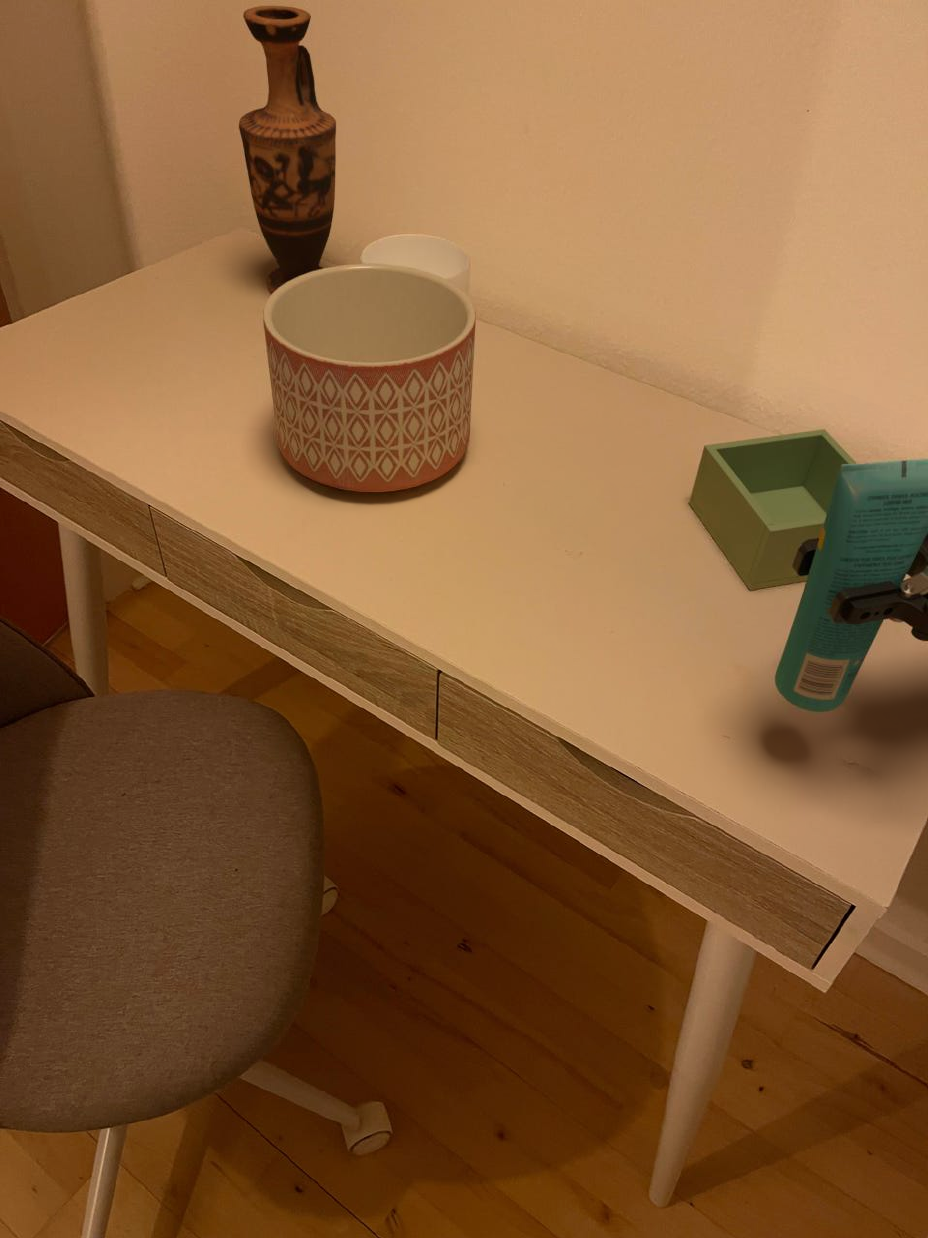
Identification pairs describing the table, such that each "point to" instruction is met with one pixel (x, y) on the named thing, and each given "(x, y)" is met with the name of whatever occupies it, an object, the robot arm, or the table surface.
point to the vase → (289, 148)
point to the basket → (767, 500)
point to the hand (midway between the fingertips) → (817, 583)
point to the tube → (852, 575)
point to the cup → (422, 256)
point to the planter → (371, 375)
